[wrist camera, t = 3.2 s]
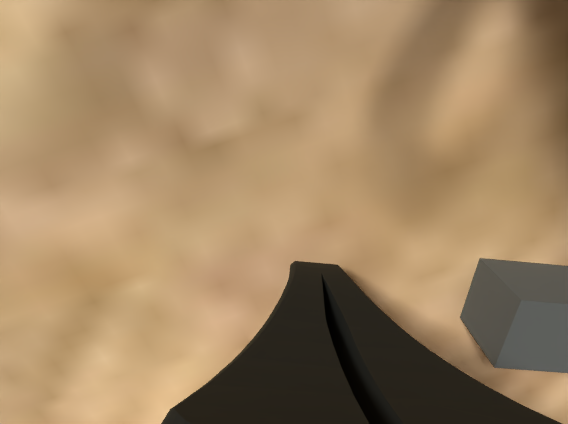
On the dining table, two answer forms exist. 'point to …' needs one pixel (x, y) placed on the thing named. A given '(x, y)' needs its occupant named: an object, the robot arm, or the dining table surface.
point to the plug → (520, 314)
